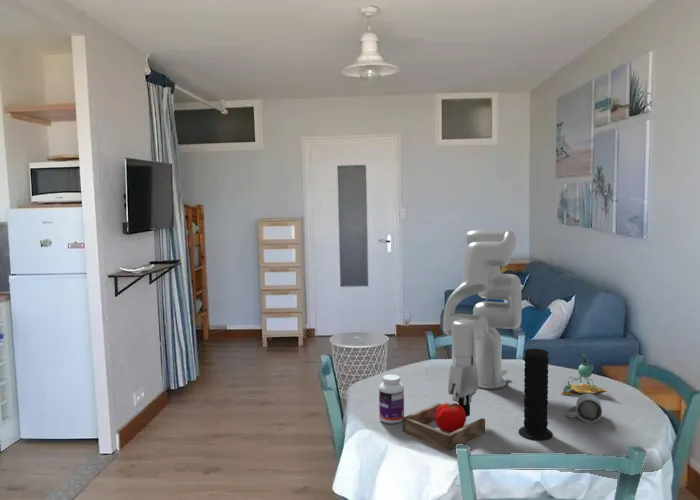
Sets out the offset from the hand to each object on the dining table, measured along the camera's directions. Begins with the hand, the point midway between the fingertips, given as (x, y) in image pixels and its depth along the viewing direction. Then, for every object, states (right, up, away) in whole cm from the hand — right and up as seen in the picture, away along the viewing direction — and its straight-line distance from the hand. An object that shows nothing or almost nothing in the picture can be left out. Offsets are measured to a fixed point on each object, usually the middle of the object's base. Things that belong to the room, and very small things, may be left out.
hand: (464, 414), depth 184 cm
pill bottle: (-23, -3, +4) cm, 23 cm away
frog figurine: (+48, +1, +25) cm, 54 cm away
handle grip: (+20, -3, -9) cm, 22 cm away
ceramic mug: (+39, -2, +2) cm, 39 cm away
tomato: (-5, -4, -5) cm, 8 cm away
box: (-7, -4, -6) cm, 10 cm away
